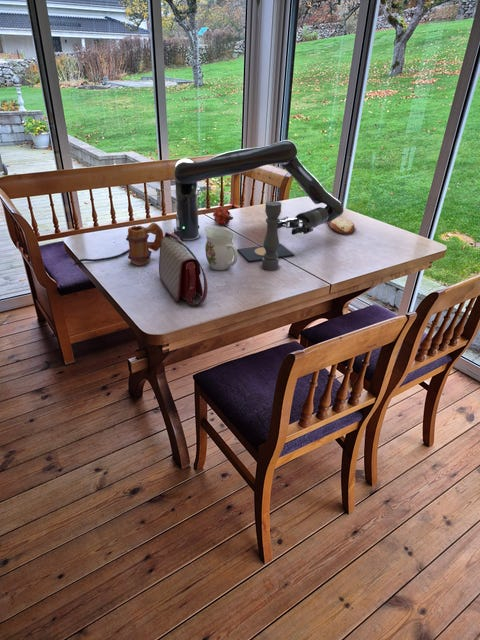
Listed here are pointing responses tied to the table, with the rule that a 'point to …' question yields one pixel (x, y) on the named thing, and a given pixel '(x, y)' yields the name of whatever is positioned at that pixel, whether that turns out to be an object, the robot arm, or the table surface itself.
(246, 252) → the placemat
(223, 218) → the dragon fruit
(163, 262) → the handbag
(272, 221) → the candle holder
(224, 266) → the pitcher
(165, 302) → the table surface
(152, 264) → the table surface
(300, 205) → the table surface
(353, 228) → the bread slice
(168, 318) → the table surface
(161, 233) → the mug
